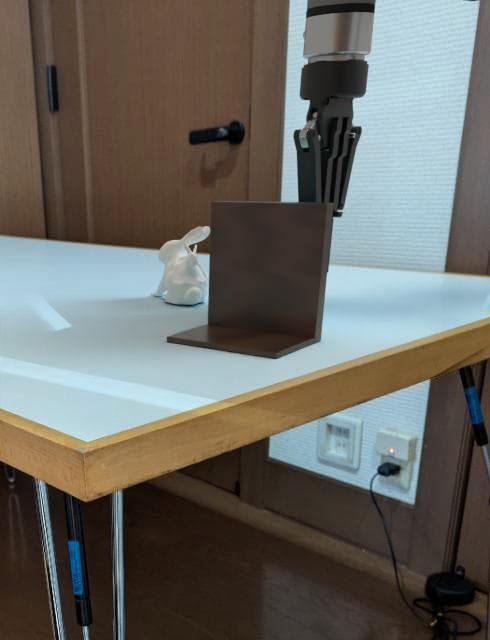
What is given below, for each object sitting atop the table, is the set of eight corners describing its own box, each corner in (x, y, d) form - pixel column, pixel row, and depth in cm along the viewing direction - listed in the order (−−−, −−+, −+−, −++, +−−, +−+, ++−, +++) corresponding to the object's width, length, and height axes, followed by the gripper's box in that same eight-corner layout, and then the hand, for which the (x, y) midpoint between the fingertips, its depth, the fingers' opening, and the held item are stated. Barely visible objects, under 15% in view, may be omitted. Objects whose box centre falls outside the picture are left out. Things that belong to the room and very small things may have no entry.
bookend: (321, 340, 88) (333, 202, 81) (276, 358, 81) (286, 210, 75) (214, 326, 96) (218, 200, 90) (166, 341, 90) (167, 207, 84)
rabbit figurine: (149, 294, 117) (149, 224, 113) (198, 290, 118) (200, 220, 114) (175, 309, 106) (176, 232, 102) (228, 304, 108) (231, 228, 103)
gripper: (332, 64, 99) (314, 263, 110) (277, 61, 91) (264, 277, 102) (390, 59, 94) (366, 267, 105) (339, 56, 86) (318, 282, 97)
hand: (315, 272), depth 103 cm, fingers closed
